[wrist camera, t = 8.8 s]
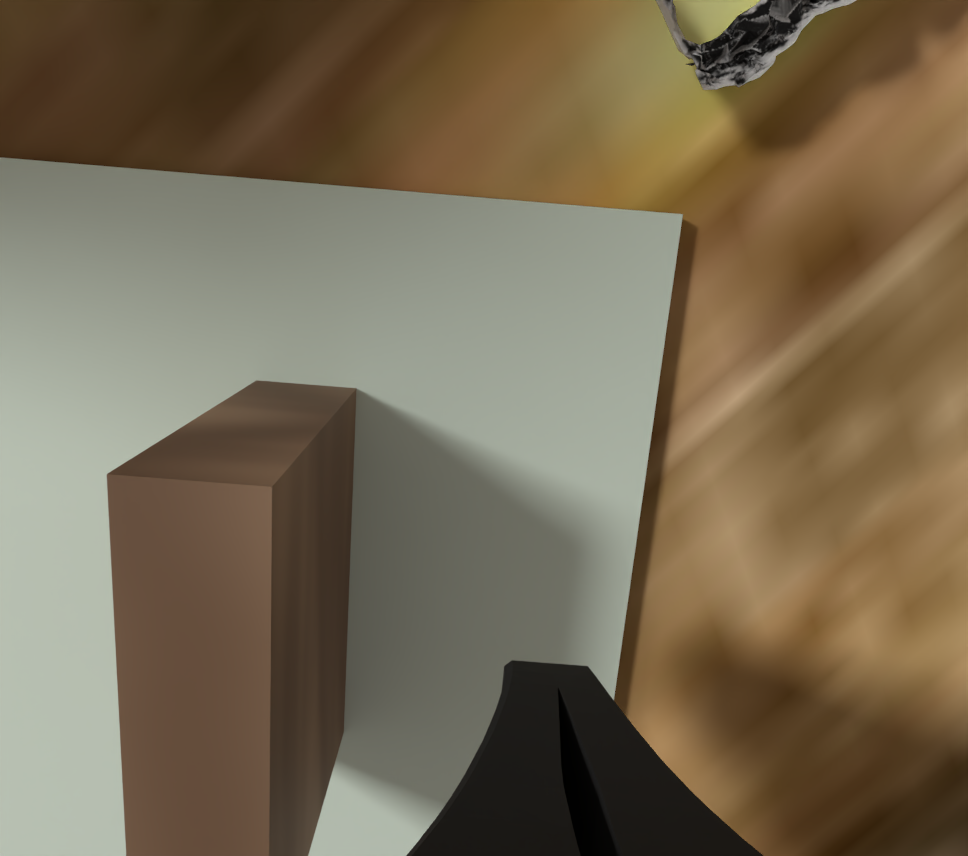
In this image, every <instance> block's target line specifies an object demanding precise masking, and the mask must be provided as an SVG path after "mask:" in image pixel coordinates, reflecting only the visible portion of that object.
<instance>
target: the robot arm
mask: <svg viewBox="0 0 968 856" xmlns="http://www.w3.org/2000/svg"><path fill="white" fill-rule="evenodd" d="M406 856H763V855H762V854H761V853H759V852H758V851H757V850H756V849H755V848H753V847H752V846H751V845H750V844H748V843H747V842H746V841H745V840H744V839H742V838H741V837H740V836H739V835H738V834H737V833H736V832H735V831H733V830H732V829H731V828H730V827H729V826H728V825H727V824H726V823H725V822H723V821H722V820H721V819H720V818H719V817H718V816H717V815H716V814H714V813H713V812H712V811H711V810H710V809H709V808H708V807H707V806H706V805H705V804H704V803H703V802H702V801H701V800H700V799H699V798H697V797H696V796H695V795H694V794H693V793H692V792H691V791H690V790H689V789H688V787H687V786H686V785H685V784H684V783H683V782H682V781H681V780H680V779H679V778H678V777H677V776H676V775H675V774H674V773H673V772H672V771H671V770H670V768H669V767H668V766H667V765H666V764H665V763H664V762H663V761H662V760H661V759H660V757H659V756H658V755H657V754H656V753H655V752H654V750H653V749H652V748H651V747H650V746H649V744H648V743H647V742H646V741H645V740H644V738H643V737H642V736H641V735H640V733H639V732H638V731H637V730H636V729H635V727H634V726H633V725H632V724H631V722H630V721H629V720H628V719H627V717H626V716H625V715H624V713H623V712H622V711H621V709H620V708H619V707H618V705H617V704H616V703H615V701H614V700H613V699H612V697H611V696H610V695H609V693H608V692H607V691H606V689H605V688H604V687H603V685H602V684H601V682H600V681H599V680H598V678H597V677H596V676H595V674H594V673H593V672H592V671H591V669H590V668H589V667H588V666H581V665H568V664H555V663H541V662H528V661H515V660H512V661H510V662H509V663H508V664H506V665H505V666H504V672H503V682H502V691H501V695H500V698H499V701H498V704H497V707H496V710H495V712H494V715H493V717H492V720H491V722H490V725H489V727H488V729H487V732H486V734H485V736H484V739H483V741H482V743H481V745H480V747H479V748H478V750H477V752H476V754H475V756H474V758H473V760H472V762H471V764H470V765H469V767H468V769H467V771H466V773H465V775H464V776H463V778H462V780H461V781H460V783H459V785H458V786H457V788H456V789H455V791H454V793H453V794H452V796H451V797H450V799H449V800H448V802H447V803H446V805H445V806H444V807H443V809H442V810H441V812H440V813H439V815H438V816H437V817H436V819H435V820H434V821H433V823H432V824H431V825H430V827H429V828H428V829H427V830H426V832H425V833H424V834H423V836H422V837H421V838H420V839H419V841H418V842H417V843H416V845H415V846H414V847H413V848H412V849H411V851H410V852H409V853H408V854H407V855H406Z"/></svg>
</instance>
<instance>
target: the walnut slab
mask: <svg viewBox="0 0 968 856" xmlns="http://www.w3.org/2000/svg"><path fill="white" fill-rule="evenodd" d="M356 390H357V388H347V387H334V386H322V385H309V384H296V383H284V382H271V381H258V380H256V381H255V382H253V383H251V384H250V385H248V386H247V387H245V388H243V389H242V390H240V391H239V392H237V393H235V394H234V395H232V396H231V397H229V398H227V399H226V400H224V401H223V402H221V403H219V404H218V405H216V406H215V407H213V408H211V409H210V410H208V411H207V412H205V413H203V414H202V415H200V416H199V417H197V418H196V419H194V420H192V421H191V422H189V423H188V424H186V425H184V426H183V427H181V428H180V429H178V430H176V431H175V432H173V433H172V434H170V435H168V436H167V437H165V438H164V439H162V440H160V441H159V442H157V443H156V444H154V445H152V446H151V447H149V448H148V449H146V450H144V451H143V452H141V453H140V454H138V455H136V456H135V457H133V458H132V459H130V460H128V461H127V462H125V463H124V464H122V465H120V466H119V467H117V468H116V469H114V470H112V471H111V472H109V473H108V474H107V492H108V512H109V531H110V550H111V570H112V589H113V609H114V628H115V648H116V667H117V686H118V706H119V725H120V745H121V764H122V784H123V803H124V823H125V842H126V856H308V855H309V851H310V848H311V844H312V841H313V837H314V834H315V830H316V827H317V823H318V820H319V817H320V813H321V810H322V806H323V803H324V799H325V796H326V792H327V789H328V785H329V782H330V778H331V775H332V771H333V768H334V765H335V761H336V758H337V754H338V751H339V747H340V744H341V740H342V737H343V733H344V713H345V686H346V659H347V632H348V605H349V578H350V551H351V524H352V497H353V470H354V444H355V417H356Z"/></svg>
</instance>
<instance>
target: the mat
mask: <svg viewBox="0 0 968 856" xmlns="http://www.w3.org/2000/svg"><path fill="white" fill-rule="evenodd" d="M682 217H683V214H674V213H662V212H650V211H638V210H626V209H614V208H602V207H590V206H578V205H566V204H554V203H542V202H530V201H518V200H506V199H494V198H482V197H470V196H458V195H446V194H434V193H422V192H410V191H398V190H386V189H374V188H362V187H350V186H338V185H326V184H314V183H302V182H290V181H278V180H266V179H253V178H241V177H229V176H217V175H205V174H193V173H181V172H169V171H157V170H145V169H133V168H121V167H109V166H97V165H85V164H73V163H61V162H49V161H37V160H25V159H13V158H1V157H0V856H126V842H125V823H124V803H123V784H122V764H121V745H120V725H119V706H118V686H117V667H116V648H115V628H114V609H113V589H112V570H111V550H110V531H109V512H108V492H107V474H108V473H109V472H111V471H112V470H114V469H116V468H117V467H119V466H120V465H122V464H124V463H125V462H127V461H128V460H130V459H132V458H133V457H135V456H136V455H138V454H140V453H141V452H143V451H144V450H146V449H148V448H149V447H151V446H152V445H154V444H156V443H157V442H159V441H160V440H162V439H164V438H165V437H167V436H168V435H170V434H172V433H173V432H175V431H176V430H178V429H180V428H181V427H183V426H184V425H186V424H188V423H189V422H191V421H192V420H194V419H196V418H197V417H199V416H200V415H202V414H203V413H205V412H207V411H208V410H210V409H211V408H213V407H215V406H216V405H218V404H219V403H221V402H223V401H224V400H226V399H227V398H229V397H231V396H232V395H234V394H235V393H237V392H239V391H240V390H242V389H243V388H245V387H247V386H248V385H250V384H251V383H253V382H255V381H256V380H258V381H271V382H284V383H296V384H309V385H322V386H334V387H347V388H357V390H356V417H355V444H354V470H353V497H352V524H351V551H350V578H349V605H348V632H347V659H346V686H345V713H344V733H343V737H342V740H341V744H340V747H339V751H338V754H337V758H336V761H335V765H334V768H333V771H332V775H331V778H330V782H329V785H328V789H327V792H326V796H325V799H324V803H323V806H322V810H321V813H320V817H319V820H318V823H317V827H316V830H315V834H314V837H313V841H312V844H311V848H310V851H309V855H308V856H406V855H407V854H408V853H409V852H410V851H411V849H412V848H413V847H414V846H415V845H416V843H417V842H418V841H419V839H420V838H421V837H422V836H423V834H424V833H425V832H426V830H427V829H428V828H429V827H430V825H431V824H432V823H433V821H434V820H435V819H436V817H437V816H438V815H439V813H440V812H441V810H442V809H443V807H444V806H445V805H446V803H447V802H448V800H449V799H450V797H451V796H452V794H453V793H454V791H455V789H456V788H457V786H458V785H459V783H460V781H461V780H462V778H463V776H464V775H465V773H466V771H467V769H468V767H469V765H470V764H471V762H472V760H473V758H474V756H475V754H476V752H477V750H478V748H479V747H480V745H481V743H482V741H483V739H484V736H485V734H486V732H487V729H488V727H489V725H490V722H491V720H492V717H493V715H494V712H495V710H496V707H497V704H498V701H499V698H500V695H501V691H502V682H503V672H504V666H505V665H506V664H508V663H509V662H510V661H512V660H515V661H528V662H541V663H555V664H568V665H581V666H588V667H589V668H590V669H591V671H592V672H593V673H594V674H595V676H596V677H597V678H598V680H599V681H600V682H601V684H602V685H603V687H604V688H605V689H606V691H607V692H608V693H609V695H610V696H611V697H612V699H613V700H614V696H615V689H616V682H617V675H618V668H619V661H620V654H621V646H622V639H623V632H624V625H625V618H626V611H627V604H628V597H629V590H630V583H631V576H632V569H633V562H634V555H635V548H636V541H637V534H638V527H639V520H640V513H641V506H642V499H643V492H644V484H645V477H646V470H647V463H648V456H649V449H650V442H651V435H652V428H653V421H654V414H655V407H656V400H657V393H658V386H659V379H660V372H661V365H662V358H663V351H664V344H665V337H666V329H667V322H668V315H669V308H670V301H671V294H672V287H673V280H674V273H675V266H676V259H677V252H678V245H679V238H680V231H681V224H682Z"/></svg>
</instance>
